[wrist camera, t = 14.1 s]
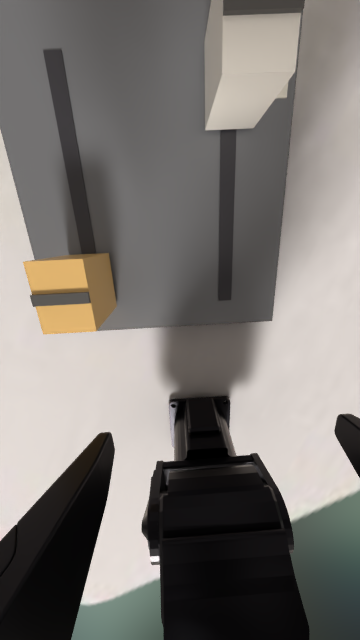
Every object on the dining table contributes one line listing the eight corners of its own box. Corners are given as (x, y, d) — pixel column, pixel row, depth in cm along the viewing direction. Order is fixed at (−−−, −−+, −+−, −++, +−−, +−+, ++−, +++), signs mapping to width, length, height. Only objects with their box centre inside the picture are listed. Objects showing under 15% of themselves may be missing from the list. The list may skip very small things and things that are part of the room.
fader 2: (253, 128, 14) (297, 67, 9) (204, 130, 14) (223, 70, 9) (258, 39, 12) (313, -89, 8) (204, 41, 12) (225, -86, 8)
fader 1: (116, 306, 17) (95, 332, 13) (78, 308, 17) (41, 335, 12) (108, 252, 16) (81, 259, 11) (66, 255, 16) (20, 262, 11)
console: (260, 311, 21) (272, 321, 18) (67, 322, 21) (53, 333, 18) (286, -14, 14) (311, -68, 11) (-10, -4, 13) (-50, -57, 11)
